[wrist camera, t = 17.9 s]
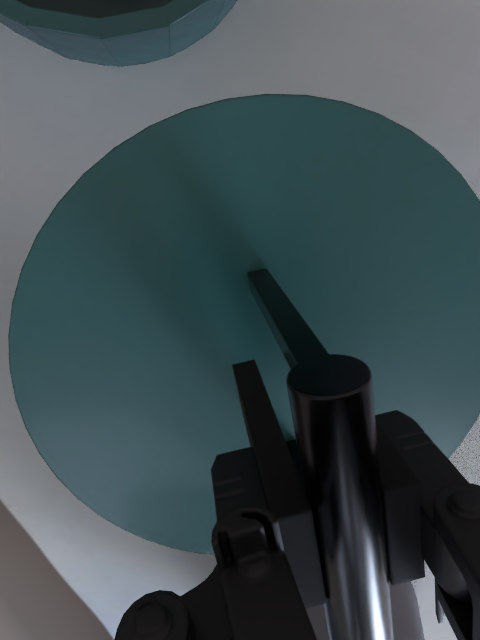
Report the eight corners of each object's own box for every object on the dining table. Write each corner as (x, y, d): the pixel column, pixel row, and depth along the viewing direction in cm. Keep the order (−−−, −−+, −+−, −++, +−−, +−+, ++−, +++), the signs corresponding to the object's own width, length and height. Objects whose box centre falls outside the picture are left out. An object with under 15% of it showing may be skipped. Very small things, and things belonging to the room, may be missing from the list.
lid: (105, 577, 21) (58, 894, 12) (-74, 160, 14) (-496, 199, 5) (484, 480, 22) (691, 708, 13) (497, 46, 15) (963, -83, 6)
